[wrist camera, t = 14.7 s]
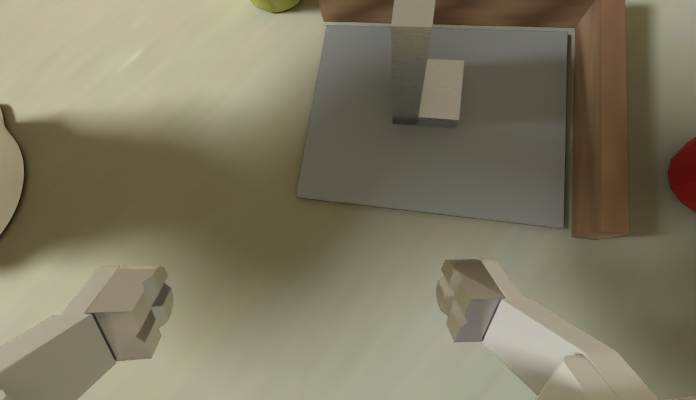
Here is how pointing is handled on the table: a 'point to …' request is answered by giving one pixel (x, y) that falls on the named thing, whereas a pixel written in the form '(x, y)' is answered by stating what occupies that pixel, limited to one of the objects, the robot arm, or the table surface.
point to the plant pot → (275, 4)
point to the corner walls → (589, 89)
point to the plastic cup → (684, 174)
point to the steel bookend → (421, 70)
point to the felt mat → (443, 143)
